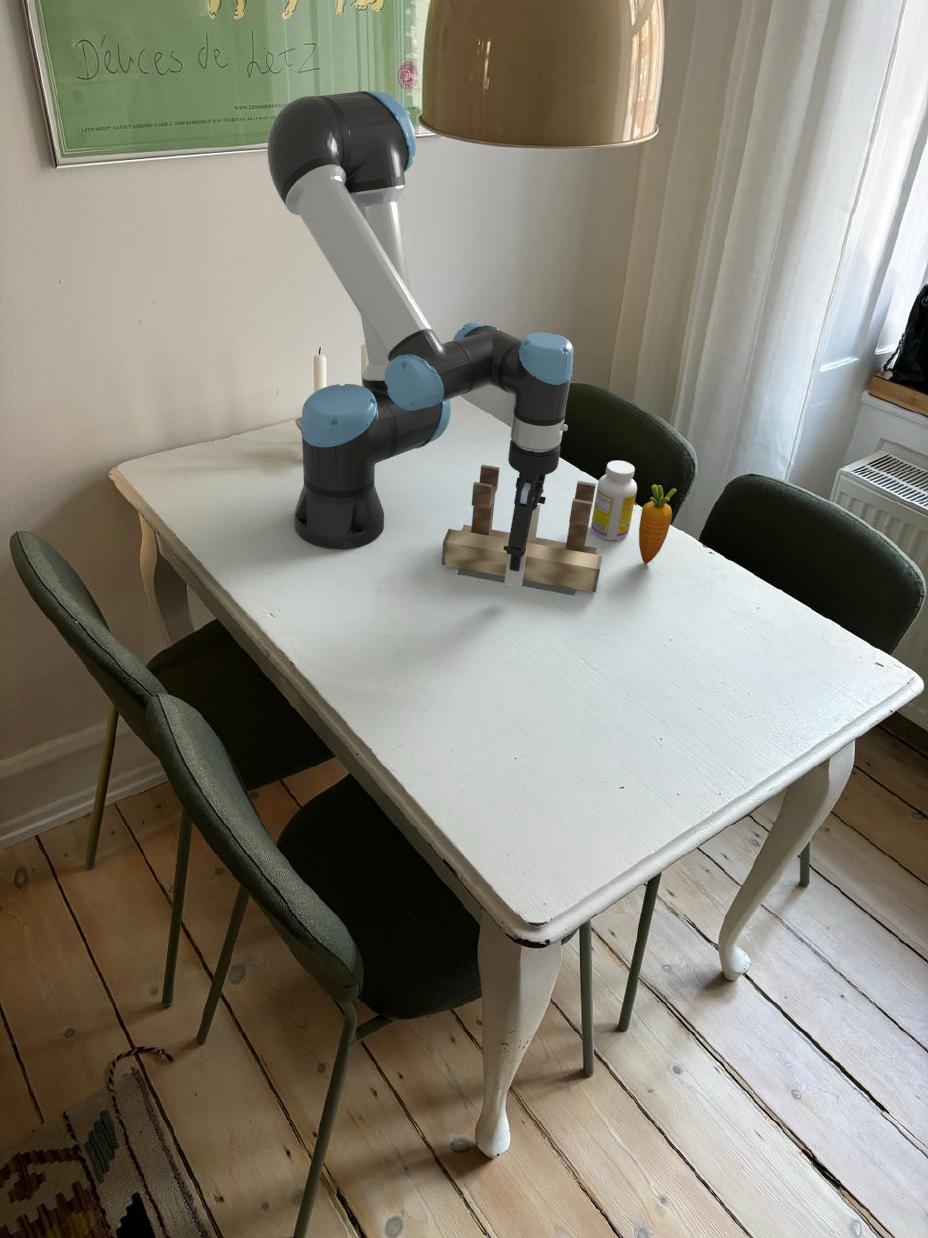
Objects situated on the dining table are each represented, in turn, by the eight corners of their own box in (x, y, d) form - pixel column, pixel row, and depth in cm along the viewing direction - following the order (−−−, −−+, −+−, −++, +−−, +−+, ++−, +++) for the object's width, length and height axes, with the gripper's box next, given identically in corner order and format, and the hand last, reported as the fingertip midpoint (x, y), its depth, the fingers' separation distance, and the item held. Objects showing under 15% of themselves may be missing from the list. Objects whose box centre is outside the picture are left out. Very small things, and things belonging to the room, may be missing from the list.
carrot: (664, 560, 164) (682, 482, 155) (655, 575, 161) (674, 496, 152) (636, 552, 166) (652, 474, 157) (627, 566, 162) (643, 487, 153)
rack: (456, 547, 163) (461, 481, 155) (464, 526, 168) (470, 462, 161) (592, 571, 160) (604, 506, 153) (596, 550, 165) (608, 485, 158)
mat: (457, 574, 157) (458, 571, 156) (465, 554, 162) (465, 551, 161) (574, 595, 154) (574, 592, 154) (578, 575, 159) (579, 571, 159)
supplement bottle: (627, 524, 173) (640, 459, 165) (628, 544, 168) (642, 478, 160) (589, 519, 173) (601, 455, 165) (589, 539, 168) (601, 474, 160)
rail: (441, 564, 158) (443, 541, 155) (446, 551, 161) (448, 528, 158) (595, 592, 154) (600, 569, 152) (598, 578, 158) (602, 555, 155)
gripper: (548, 485, 133) (531, 609, 146) (571, 410, 153) (554, 525, 166) (494, 476, 134) (482, 600, 147) (524, 402, 154) (511, 517, 167)
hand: (520, 560), depth 156 cm, fingers open, 13 cm apart
